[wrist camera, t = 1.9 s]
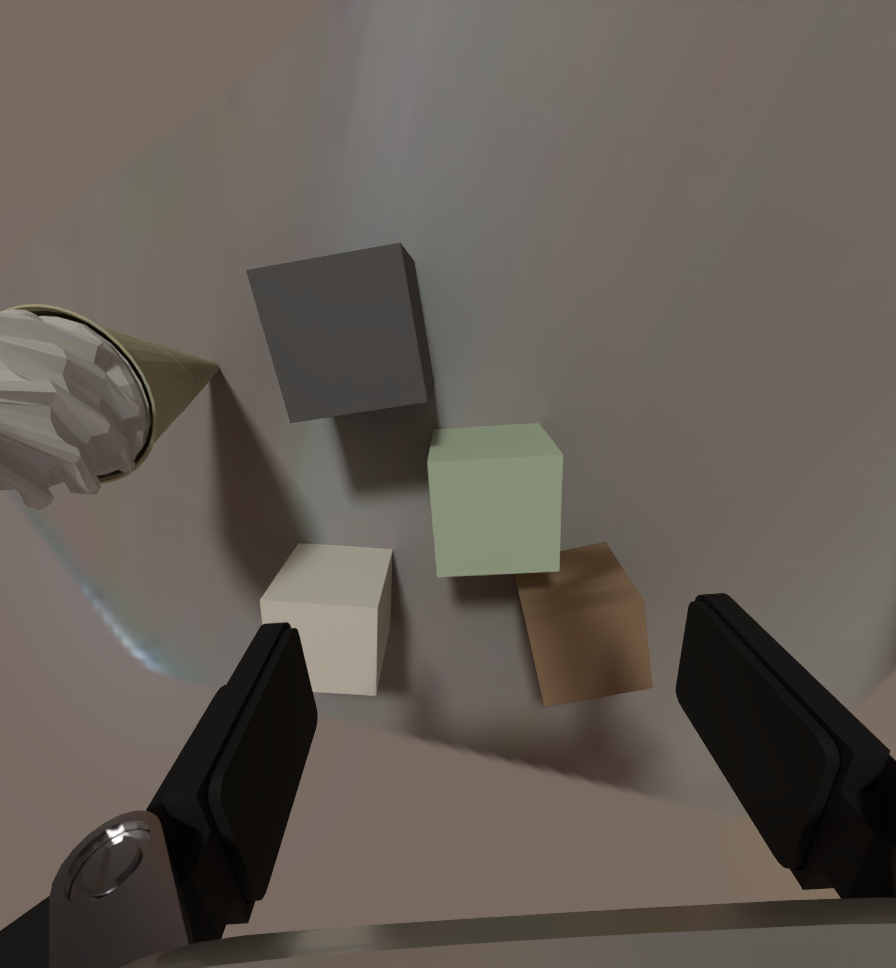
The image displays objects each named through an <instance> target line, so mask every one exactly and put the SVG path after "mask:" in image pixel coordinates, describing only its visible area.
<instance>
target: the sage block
mask: <svg viewBox="0 0 896 968" xmlns="http://www.w3.org/2000/svg"><path fill="white" fill-rule="evenodd" d="M427 467H428V478H429V490H430V501H431V512H432V523H433V535H434V546H435V557H436V569H437V577H453V576H474V575H495V574H516V573H537V572H558V571H559V566H560V535H561V503H562V472H563V454H562V453H561V451H560V450H559V449H558V447H557V446H556V445H555V443H554V442H553V441H552V440H551V438H550V437H549V436H548V434H547V433H546V432H545V430H544V429H543V428H542V426H541V425H540V424H539V423H531V424H515V425H498V426H482V427H466V428H450V429H433V434H432V439H431V445H430V450H429V455H428V461H427Z"/></svg>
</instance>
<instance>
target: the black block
mask: <svg viewBox="0 0 896 968" xmlns="http://www.w3.org/2000/svg"><path fill="white" fill-rule="evenodd" d="M246 271H247V275H248V278H249V282H250V285H251V288H252V292H253V295H254V299H255V302H256V306H257V309H258V313H259V316H260V319H261V323H262V326H263V330H264V333H265V337H266V340H267V344H268V347H269V350H270V354H271V357H272V361H273V364H274V368H275V371H276V375H277V378H278V381H279V385H280V388H281V392H282V395H283V399H284V402H285V406H286V409H287V412H288V416H289V419H290V423H293V422H300V421H307V420H313V419H320V418H326V417H333V416H339V415H346V414H353V413H359V412H366V411H372V410H379V409H386V408H392V407H399V406H405V405H412V404H418V403H425V402H428V399H429V396H430V393H431V389H432V386H433V383H434V380H433V374H432V367H431V361H430V355H429V349H428V343H427V337H426V331H425V324H424V318H423V312H422V306H421V300H420V294H419V288H418V282H417V275H416V269H415V263H414V260H413V259H412V258H411V256H410V255H409V254H408V252H407V251H406V250H405V248H404V247H403V246H402V244H401V243H396V244H391V245H385V246H379V247H374V248H368V249H363V250H357V251H351V252H346V253H340V254H335V255H329V256H323V257H318V258H312V259H306V260H301V261H295V262H290V263H284V264H278V265H273V266H267V267H262V268H256V269H250V270H246Z"/></svg>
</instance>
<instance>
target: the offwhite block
mask: <svg viewBox="0 0 896 968" xmlns="http://www.w3.org/2000/svg"><path fill="white" fill-rule="evenodd" d="M392 556H393V549H379V548H364V547H350V546H336V545H322V544H307V543H298V544H297V546H296V547H295V549H294V550H293V552H292V553H291V555H290V556H289V558H288V559H287V561H286V562H285V564H284V565H283V567H282V568H281V570H280V571H279V572H278V574H277V575H276V577H275V578H274V580H273V581H272V583H271V584H270V586H269V587H268V589H267V590H266V592H265V593H264V595H263V596H262V598H261V599H260V607H261V616H262V625H263V624H266V623H281V622H288V623H289V624H290V625H291V628H297V629H298V632H299V635H300V640H301V644H302V648H303V653H304V657H305V661H306V665H307V670H308V674H309V678H310V682H311V687H312V691H313V692H324V693H340V694H355V695H370V696H376V694H377V689H378V684H379V680H380V675H381V670H382V665H383V660H384V655H385V650H386V645H387V640H388V635H389V630H390V624H391V590H392Z"/></svg>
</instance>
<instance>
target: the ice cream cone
mask: <svg viewBox="0 0 896 968" xmlns="http://www.w3.org/2000/svg"><path fill="white" fill-rule="evenodd" d="M218 370H219V368H218V365H217V364H216V363H214V362H211V361H208V360H205V359H202V358H199V357H196V356H193V355H190V354H187V353H184V352H181V351H178V350H175V349H172V348H169V347H166V346H163V345H160V344H157V343H154V342H151V341H148V340H145V339H142V338H139V337H135V336H132V335H129V334H126V333H122V332H119V331H116V330H113V329H110V328H107V327H104V326H101V325H98V324H96V323H94V322H93V321H91V320H89V319H87V318H85V317H83V316H81V315H79V314H77V313H75V312H72V311H69V310H66V309H62V308H59V307H56V306H49V305H42V304H28V305H19V306H16V307H12V308H8V309H6V310H4V311H2V312H0V490H14V489H15V490H17V491H19V493H20V495H21V497H22V499H23V501H24V503H25V505H26V506H27V507H30V508H34V509H37V510H40V509H42V508H44V507H46V506H47V505H49V504H50V503H51V502H52V500H53V498H54V497H53V496H52V494H51V493H50V491H49V490H48V489H49V488H50V486H52V485H56V484H59V483H62V482H65V483H66V485H67V487H68V489H69V491H70V492H72V493H79V494H97V492H98V491H99V489H100V483H107V482H112V481H116V480H118V479H121V478H123V477H125V476H127V475H129V474H130V473H132V472H133V471H134V470H136V469H137V468H138V467H139V466H140V465H141V464H142V463H143V462H144V460H145V459H146V458H147V456H148V455H149V453H150V451H151V449H152V447H153V444H154V443H155V442H156V440H157V439H158V438H159V437H160V436H161V435H162V434H163V432H164V431H165V430H166V429H167V428H168V427H169V426H170V425H171V423H172V422H173V421H174V420H175V419H176V418H177V417H178V415H179V414H181V413H182V412H183V411H184V410H185V408H186V407H187V406H188V405H189V404H190V403H191V401H192V400H193V399H194V398H195V397H196V396H197V395H198V394H199V392H200V391H201V390H202V389H203V388H204V387H205V386H206V384H207V383H208V382H209V381H210V380H211V379H212V378H213V376H214V375H215V374H216V373H217V372H218Z"/></svg>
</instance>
